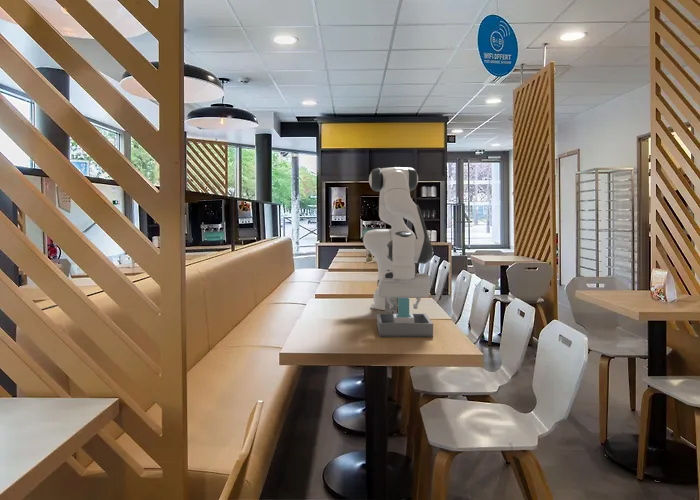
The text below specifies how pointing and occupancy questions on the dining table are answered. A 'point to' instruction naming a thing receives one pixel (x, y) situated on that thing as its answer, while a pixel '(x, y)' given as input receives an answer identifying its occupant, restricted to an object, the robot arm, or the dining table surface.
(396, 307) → the coffee box
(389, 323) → the inlet box
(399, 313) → the connector peg
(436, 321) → the dining table surface
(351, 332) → the dining table surface
